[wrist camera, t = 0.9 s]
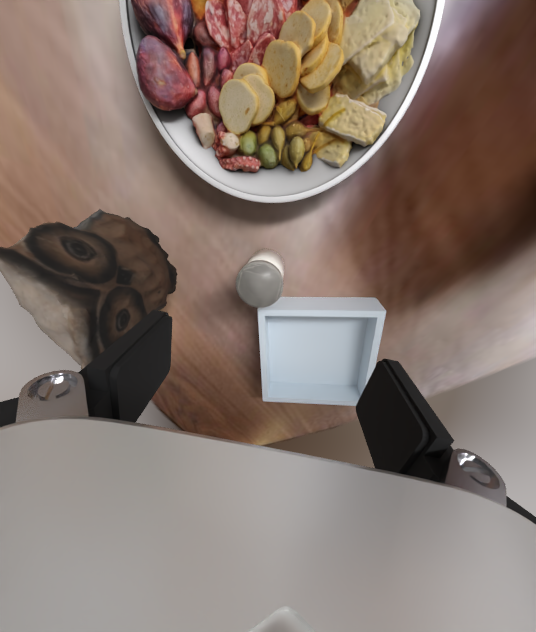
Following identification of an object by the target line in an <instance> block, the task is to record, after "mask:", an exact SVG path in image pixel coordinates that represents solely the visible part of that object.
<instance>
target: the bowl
mask: <svg viewBox="0 0 536 632" xmlns="http://www.w3.org/2000/svg"><path fill="white" fill-rule="evenodd" d="M444 5H445V0H119V7H120V17H121V24H122V30H123V36H124V41H125V46H126V50H127V54H128V59H129V62H130V66H131V69H132V73H133V76H134V79H135V82H136V84H137V87H138V90H139V92H140V95H141V97H142V99H143V102H144V104H145V106H146V108H147V110H148V112H149V114H150V116H151V118H152V120H153V122H154V123H155V125H156V127H157V129H158V130H159V132H160V133H161V135H162V136H163V138H164V139H165V141H166V142H167V144H168V145H169V146H170V147H171V149H172V150H173V151H174V152H175V154H176V155H177V156H178V157H179V158H180V159H181V160H182V161H183V162H184V163H185V164H186V165H187V166H188V167H189V168H190V169H191V170H192V171H193V172H194V173H195V174H197V175H198V176H199V177H200V178H202V179H203V180H205V181H206V182H207V183H209V184H211V185H212V186H214V187H215V188H217V189H219V190H221V191H223V192H225V193H228V194H230V195H232V196H235V197H238V198H241V199H245V200H249V201H254V202H261V203H284V202H292V201H297V200H301V199H305V198H308V197H311V196H314V195H316V194H319V193H321V192H323V191H326V190H328V189H330V188H331V187H333V186H335V185H337V184H338V183H340V182H342V181H343V180H345V179H346V178H347V177H349V176H350V175H351V174H353V173H354V172H355V171H357V170H358V169H359V168H360V167H361V166H362V165H363V164H365V163H366V162H367V161H368V160H369V159H370V158H371V157H372V156H373V155H374V154H375V153H376V151H377V150H378V149H379V148H380V147H381V146H382V145H383V143H384V142H385V141H386V140H387V138H388V137H389V136H390V135H391V133H392V132H393V130H394V129H395V128H396V126H397V125H398V123H399V122H400V120H401V119H402V117H403V115H404V114H405V112H406V110H407V109H408V107H409V105H410V103H411V101H412V99H413V98H414V96H415V94H416V92H417V89H418V87H419V85H420V83H421V81H422V78H423V76H424V74H425V71H426V69H427V66H428V63H429V61H430V58H431V55H432V52H433V49H434V46H435V42H436V39H437V35H438V32H439V28H440V24H441V19H442V15H443V10H444Z"/></svg>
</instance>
